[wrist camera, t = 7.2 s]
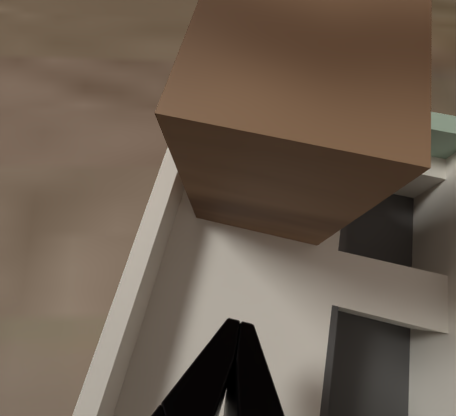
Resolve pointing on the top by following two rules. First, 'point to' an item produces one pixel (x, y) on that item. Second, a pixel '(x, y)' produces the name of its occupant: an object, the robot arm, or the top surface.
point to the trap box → (293, 303)
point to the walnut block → (299, 110)
